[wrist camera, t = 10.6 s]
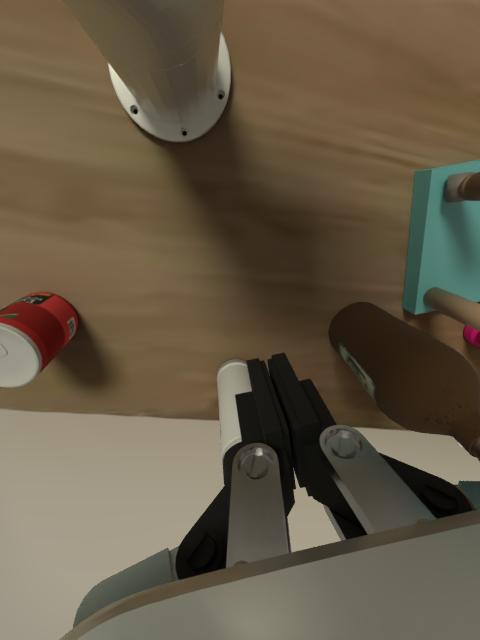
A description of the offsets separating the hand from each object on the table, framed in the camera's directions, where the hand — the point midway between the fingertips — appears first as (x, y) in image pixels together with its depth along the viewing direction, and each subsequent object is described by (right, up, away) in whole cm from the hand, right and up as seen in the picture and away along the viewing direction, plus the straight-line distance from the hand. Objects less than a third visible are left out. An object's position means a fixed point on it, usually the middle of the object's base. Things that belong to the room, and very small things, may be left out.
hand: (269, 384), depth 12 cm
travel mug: (-2, -6, +35) cm, 36 cm away
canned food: (-28, +3, +27) cm, 39 cm away
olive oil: (+18, +2, +34) cm, 38 cm away
